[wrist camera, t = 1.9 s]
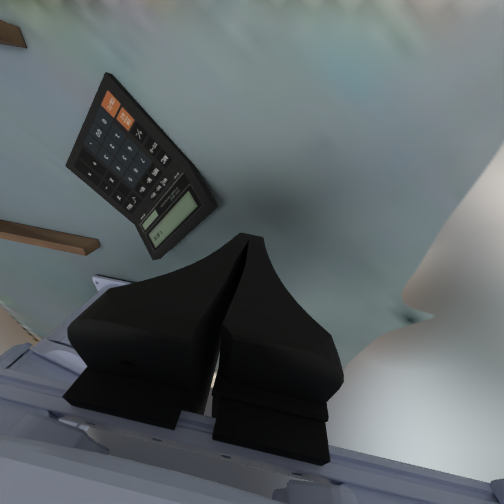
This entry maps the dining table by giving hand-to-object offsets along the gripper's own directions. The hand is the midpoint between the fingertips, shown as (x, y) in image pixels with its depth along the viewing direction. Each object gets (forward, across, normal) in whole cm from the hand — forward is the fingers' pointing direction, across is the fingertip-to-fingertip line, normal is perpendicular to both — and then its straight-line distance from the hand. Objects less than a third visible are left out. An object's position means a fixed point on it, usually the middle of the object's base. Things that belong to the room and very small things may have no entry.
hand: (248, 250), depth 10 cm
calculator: (+9, +11, 0) cm, 14 cm away
